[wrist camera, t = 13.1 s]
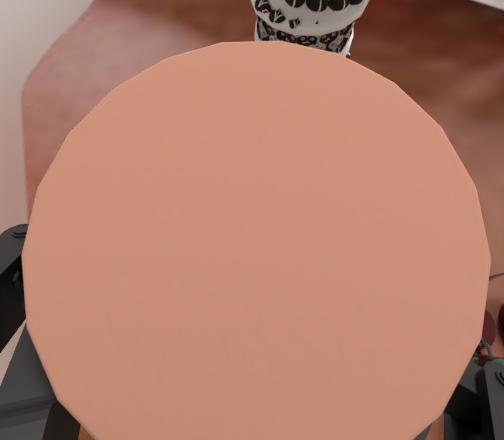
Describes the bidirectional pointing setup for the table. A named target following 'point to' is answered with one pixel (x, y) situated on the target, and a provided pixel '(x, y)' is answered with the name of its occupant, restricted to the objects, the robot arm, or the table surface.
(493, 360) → the binoculars
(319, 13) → the decorative candle
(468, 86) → the table surface
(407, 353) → the coffee jar
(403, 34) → the table surface
